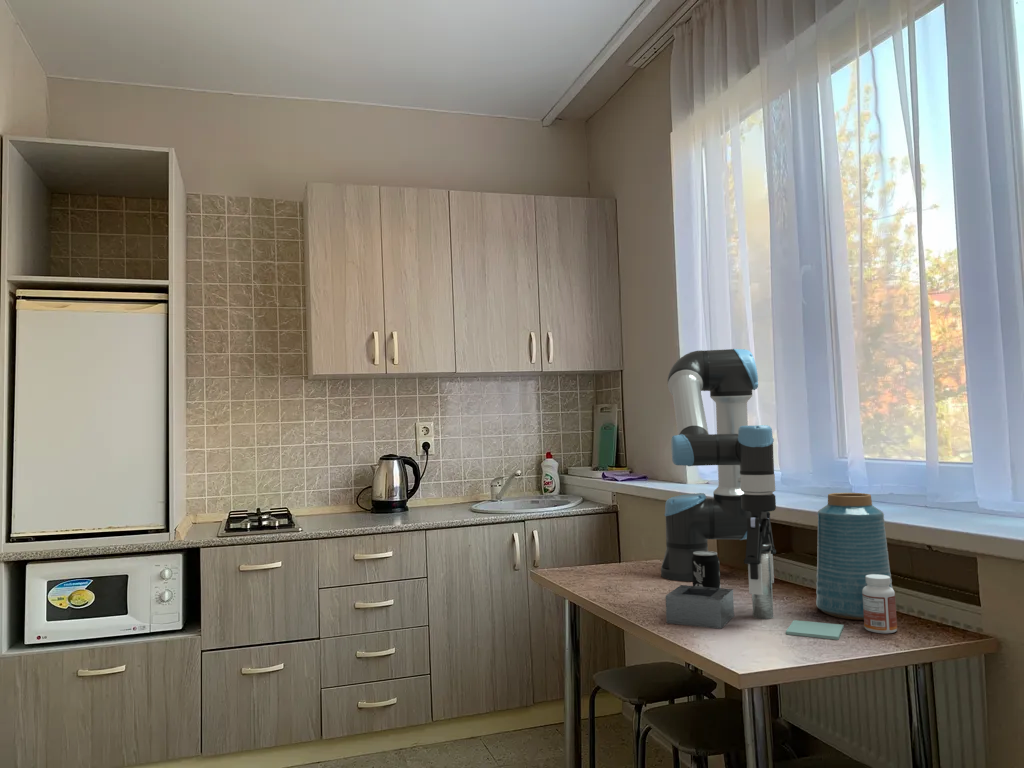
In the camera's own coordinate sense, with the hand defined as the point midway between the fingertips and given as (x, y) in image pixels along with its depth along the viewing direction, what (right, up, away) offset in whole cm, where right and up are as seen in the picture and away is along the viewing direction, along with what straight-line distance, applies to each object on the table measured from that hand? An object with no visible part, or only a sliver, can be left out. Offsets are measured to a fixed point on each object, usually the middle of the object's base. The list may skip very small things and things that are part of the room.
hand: (761, 588), depth 171 cm
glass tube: (0, -6, 0) cm, 6 cm away
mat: (+7, -5, -13) cm, 16 cm away
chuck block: (-14, -7, -1) cm, 16 cm away
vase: (+22, -6, +2) cm, 23 cm away
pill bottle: (+20, -5, -14) cm, 25 cm away
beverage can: (-9, -8, +15) cm, 19 cm away
